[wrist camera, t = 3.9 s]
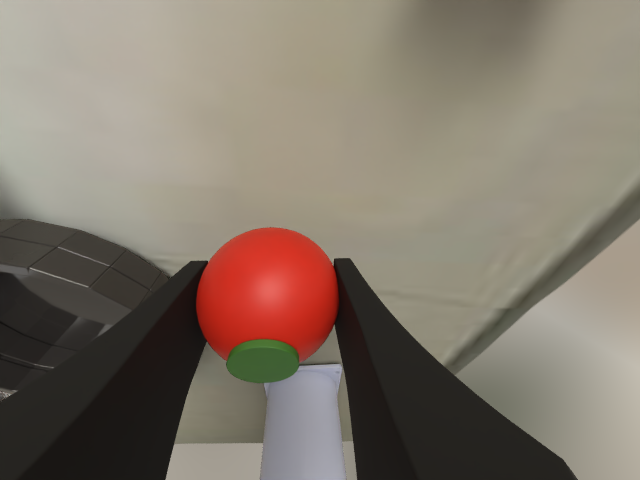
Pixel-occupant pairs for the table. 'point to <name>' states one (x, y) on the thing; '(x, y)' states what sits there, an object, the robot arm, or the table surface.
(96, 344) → the robot arm
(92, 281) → the pan
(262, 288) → the tomato
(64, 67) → the table surface
